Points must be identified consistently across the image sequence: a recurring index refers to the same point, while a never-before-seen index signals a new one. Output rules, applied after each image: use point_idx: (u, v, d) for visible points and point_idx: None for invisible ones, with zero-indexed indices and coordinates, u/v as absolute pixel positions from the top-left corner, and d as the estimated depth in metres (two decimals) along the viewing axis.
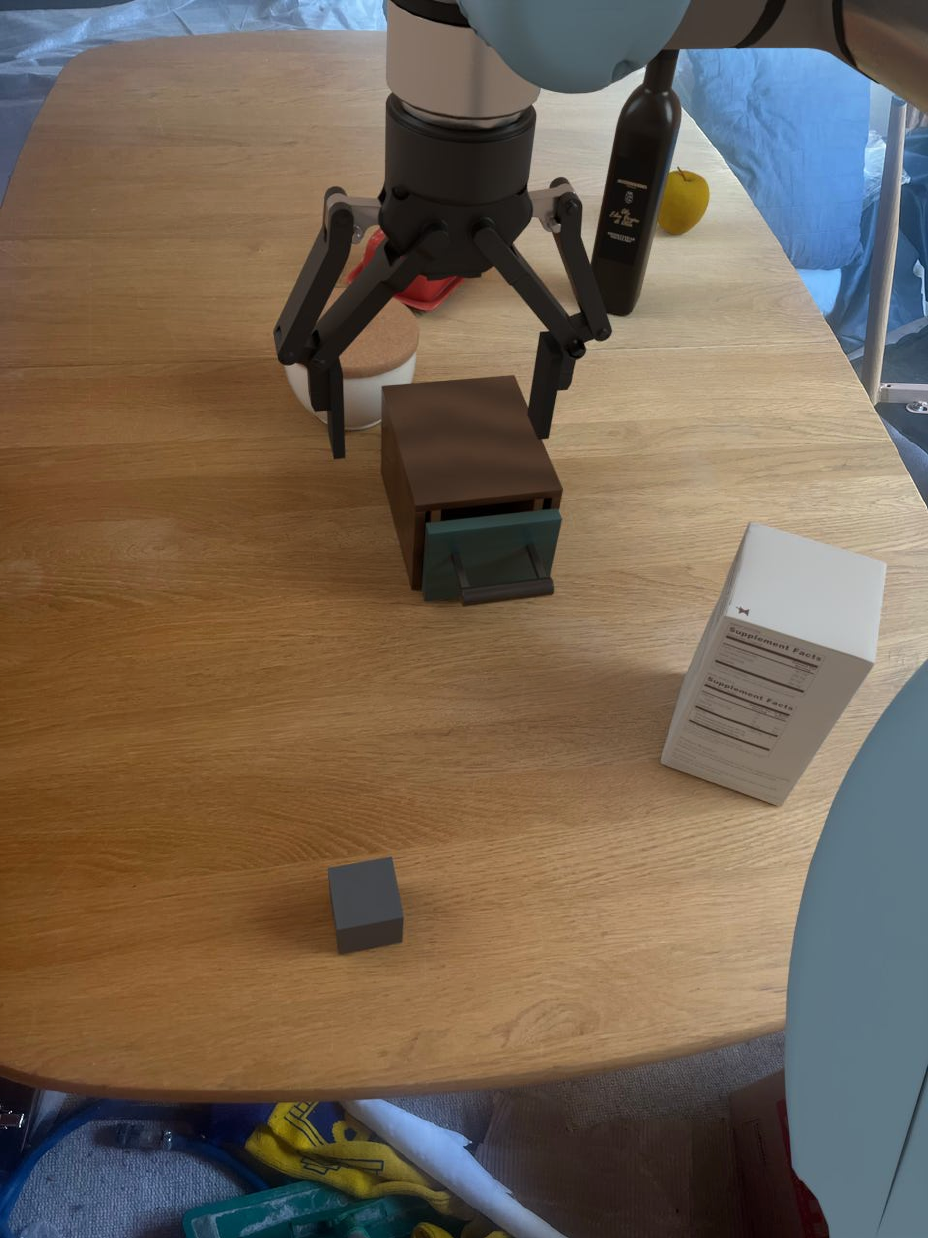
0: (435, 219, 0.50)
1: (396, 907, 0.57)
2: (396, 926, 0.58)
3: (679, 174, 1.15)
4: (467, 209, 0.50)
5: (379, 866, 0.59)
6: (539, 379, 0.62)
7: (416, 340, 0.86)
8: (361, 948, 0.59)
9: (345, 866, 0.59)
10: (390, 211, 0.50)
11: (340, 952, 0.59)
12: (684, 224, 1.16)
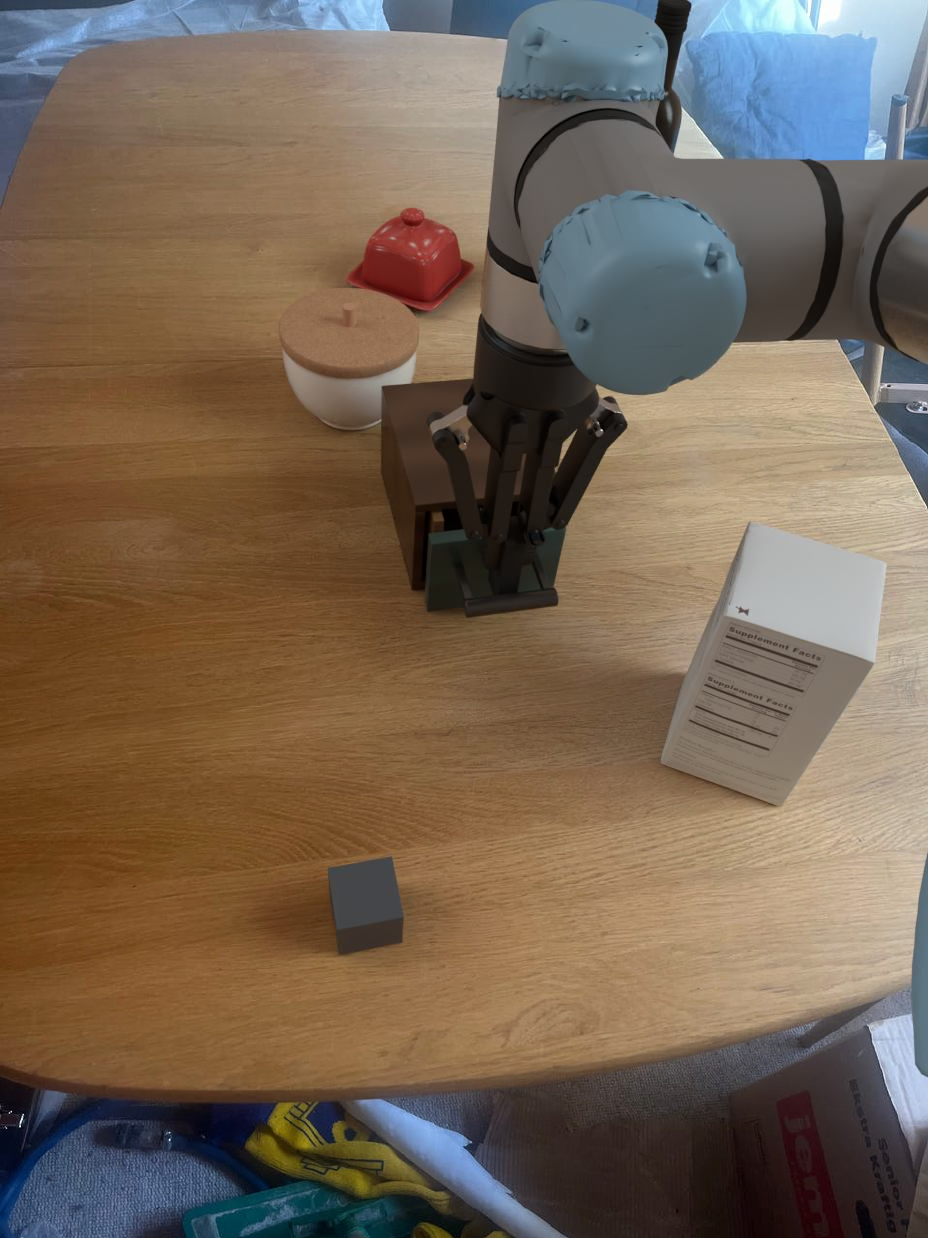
0: (508, 416, 0.58)
1: (396, 907, 0.57)
2: (396, 926, 0.58)
3: None
4: None
5: (379, 866, 0.59)
6: None
7: (416, 340, 0.86)
8: (361, 948, 0.59)
9: (345, 866, 0.59)
10: (478, 408, 0.58)
11: (340, 952, 0.59)
12: None
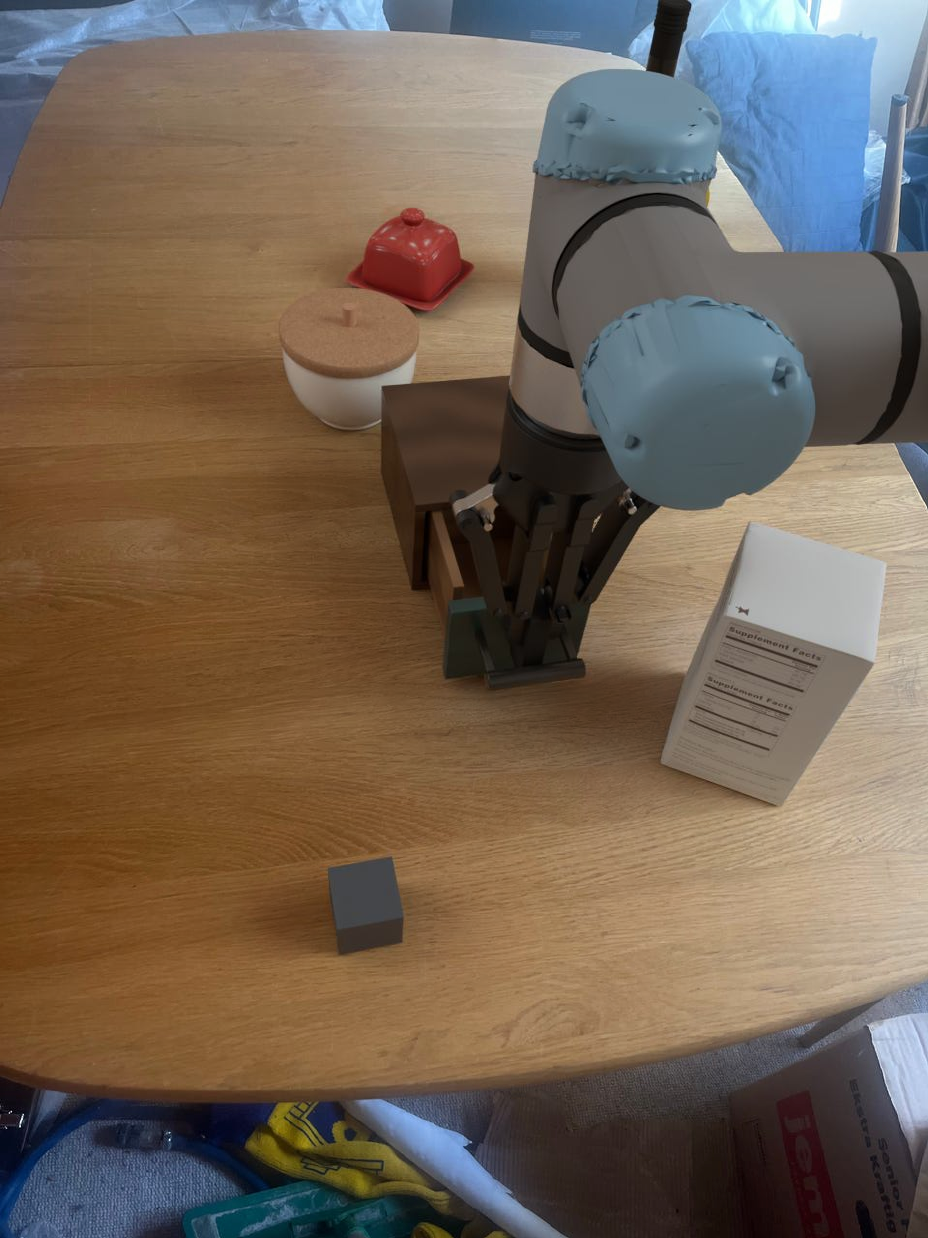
0: (537, 496, 0.55)
1: (396, 907, 0.57)
2: (396, 926, 0.58)
3: None
4: None
5: (379, 866, 0.59)
6: None
7: (416, 340, 0.86)
8: (361, 948, 0.59)
9: (345, 866, 0.59)
10: (505, 489, 0.54)
11: (340, 952, 0.59)
12: None
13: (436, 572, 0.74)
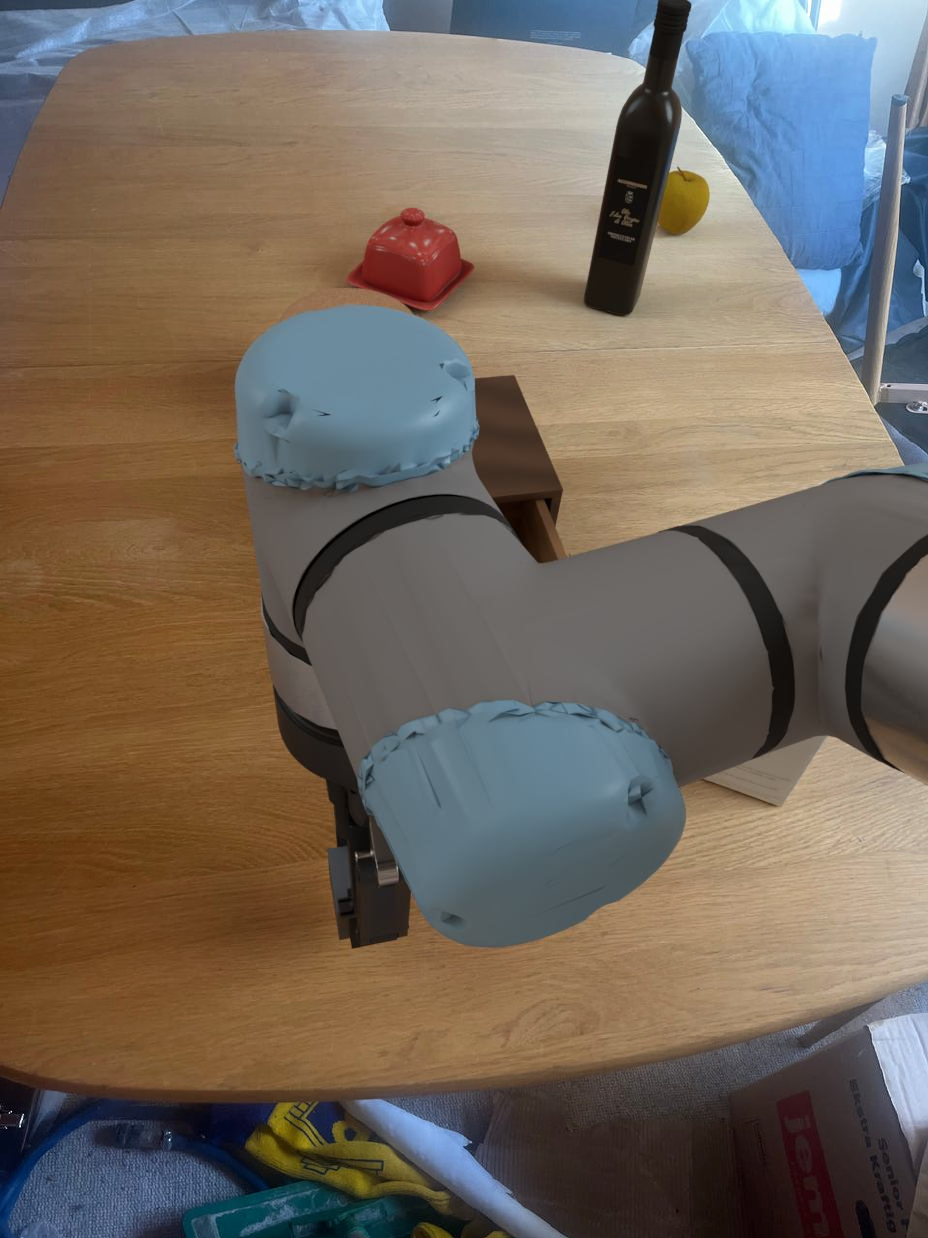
0: None
1: None
2: None
3: (679, 174, 1.15)
4: None
5: None
6: None
7: None
8: None
9: (345, 847, 0.56)
10: None
11: (340, 937, 0.56)
12: (684, 224, 1.16)
13: None
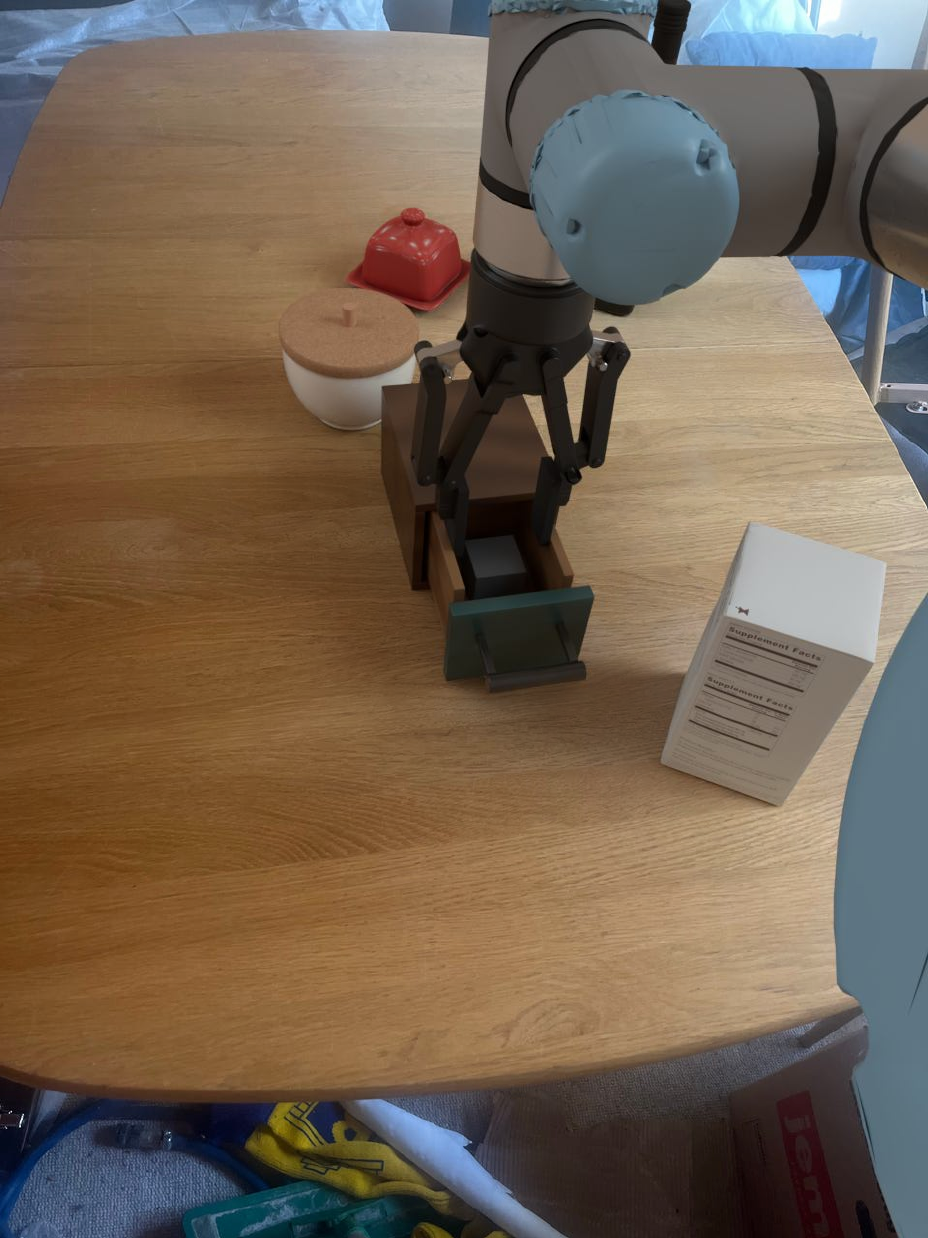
0: (504, 352, 0.58)
1: (506, 538, 0.75)
2: None
3: None
4: None
5: (473, 547, 0.74)
6: (541, 496, 0.70)
7: (416, 340, 0.86)
8: None
9: (474, 567, 0.73)
10: (471, 345, 0.57)
11: None
12: None
13: (437, 574, 0.74)
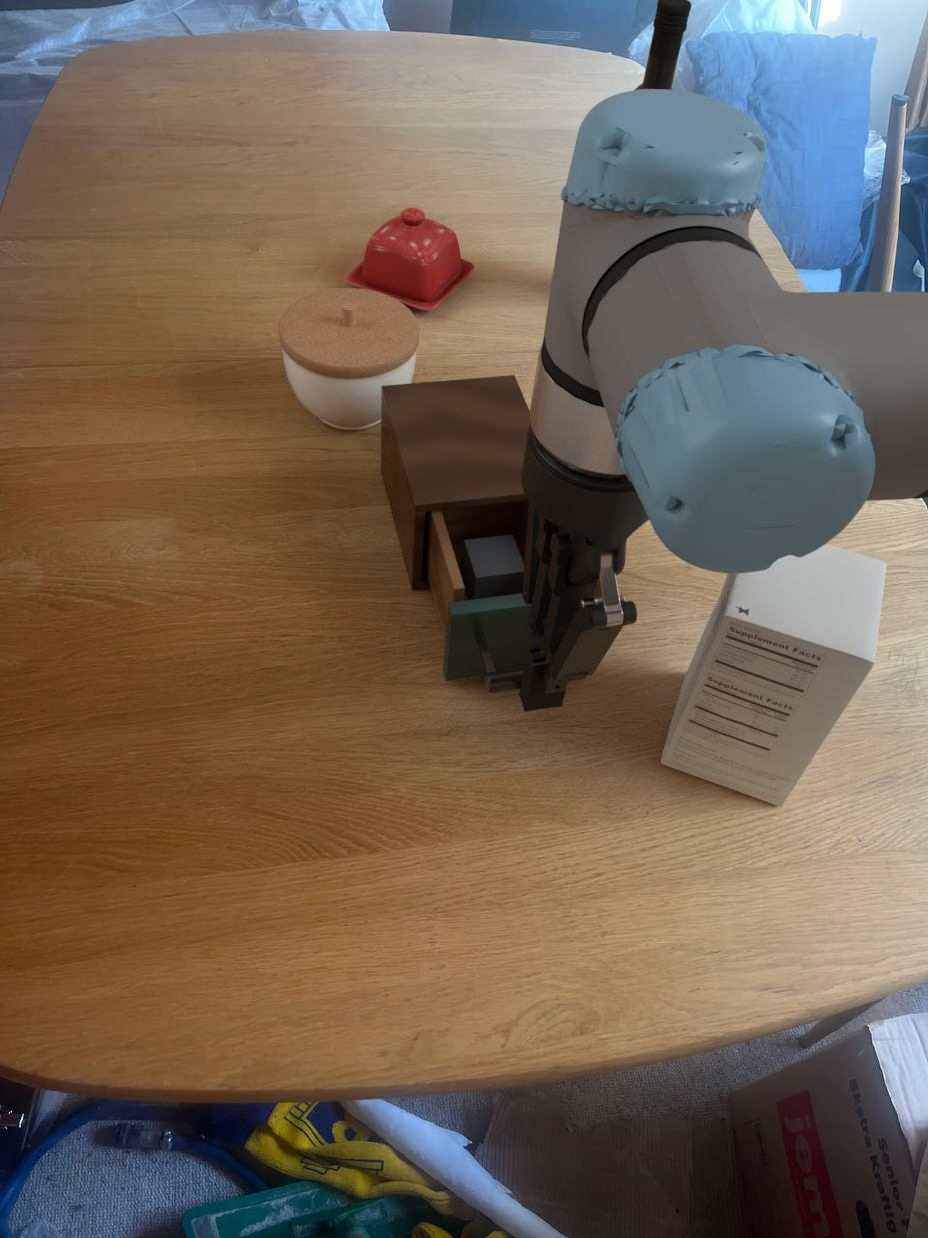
0: None
1: (506, 538, 0.75)
2: None
3: None
4: None
5: (473, 546, 0.74)
6: None
7: (416, 340, 0.86)
8: None
9: (474, 567, 0.73)
10: None
11: None
12: None
13: (436, 574, 0.74)
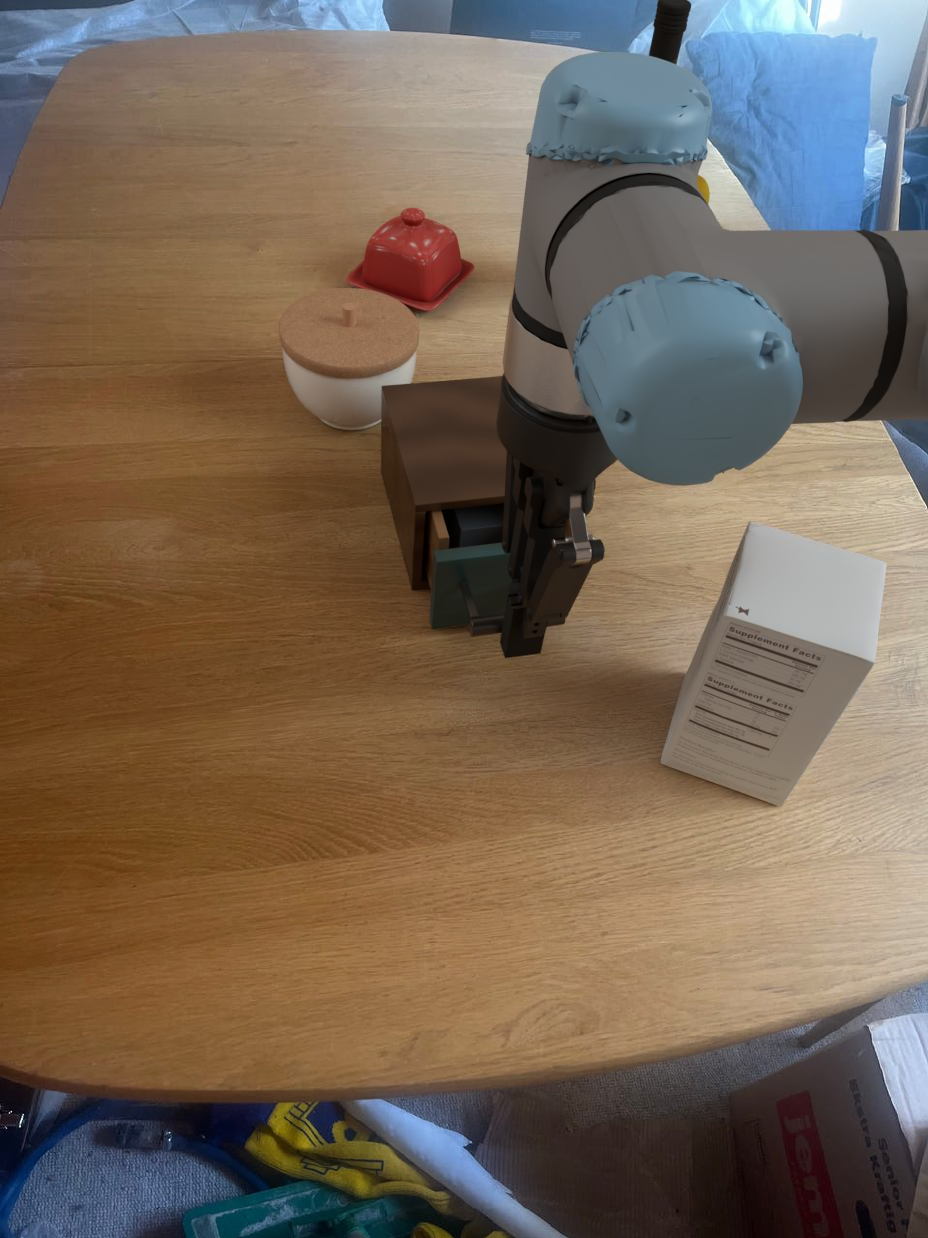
0: None
1: None
2: None
3: None
4: None
5: None
6: None
7: (416, 340, 0.86)
8: None
9: (459, 520, 0.76)
10: None
11: None
12: None
13: None
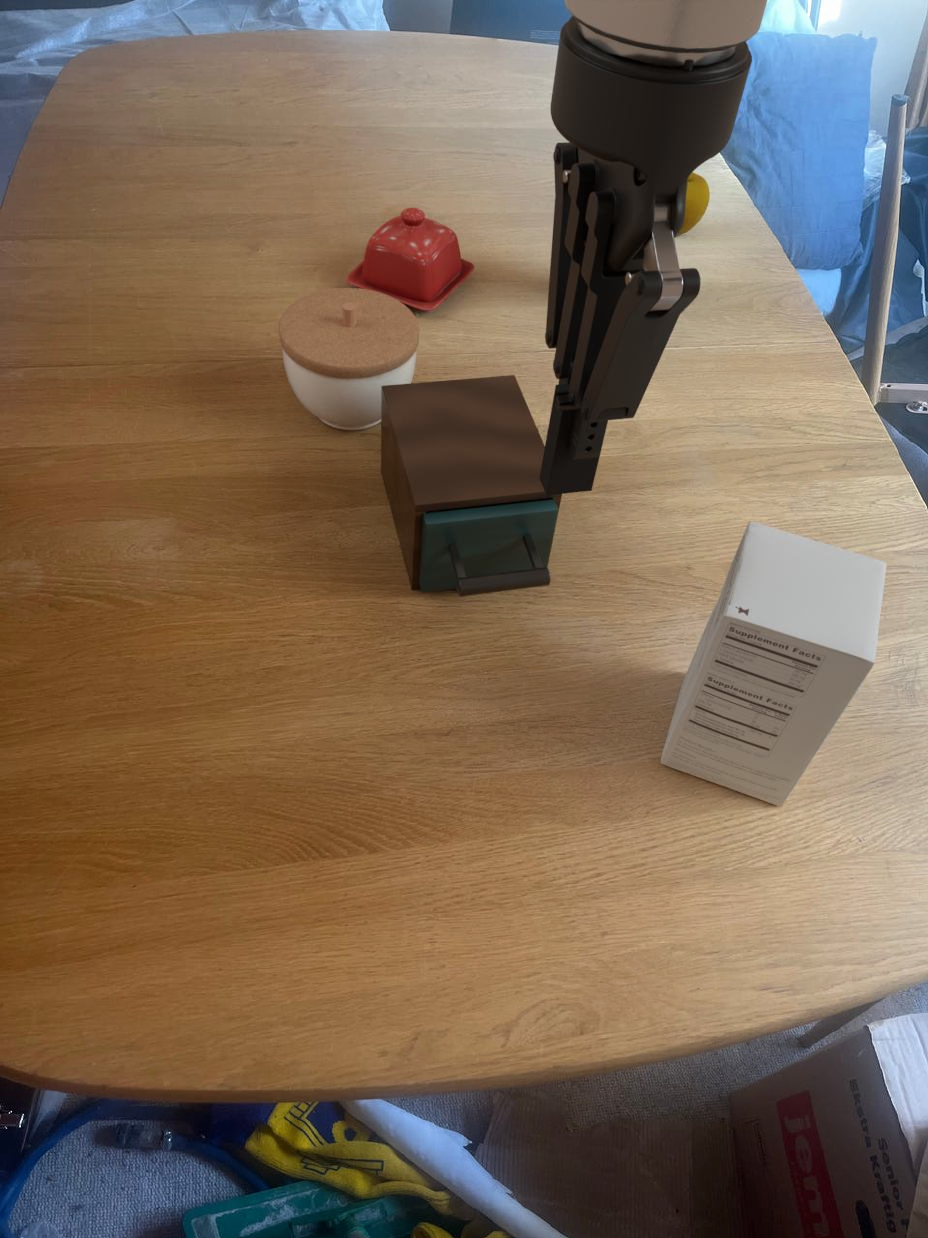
0: (590, 159, 0.42)
1: None
2: None
3: None
4: (610, 168, 0.40)
5: None
6: None
7: (416, 340, 0.86)
8: None
9: None
10: None
11: None
12: (684, 224, 1.16)
13: None
